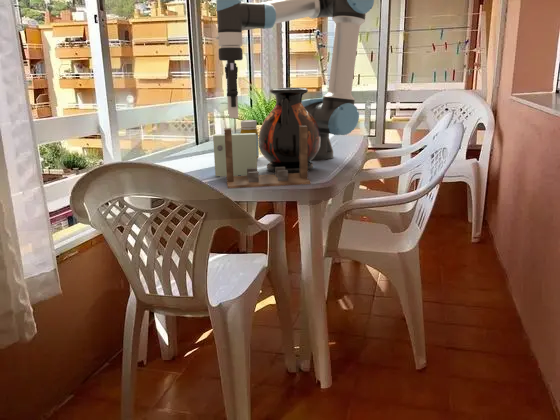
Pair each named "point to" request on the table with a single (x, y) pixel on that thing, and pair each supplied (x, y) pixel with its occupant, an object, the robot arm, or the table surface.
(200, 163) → the table surface
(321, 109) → the robot arm
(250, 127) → the bottle
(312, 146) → the amphora vase
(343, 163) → the table surface
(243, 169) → the beige flat panel
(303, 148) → the cabinet frame
